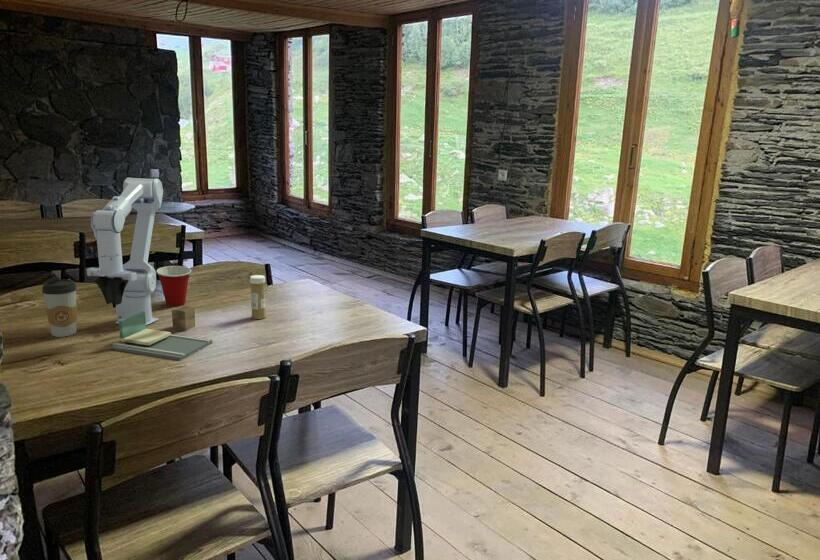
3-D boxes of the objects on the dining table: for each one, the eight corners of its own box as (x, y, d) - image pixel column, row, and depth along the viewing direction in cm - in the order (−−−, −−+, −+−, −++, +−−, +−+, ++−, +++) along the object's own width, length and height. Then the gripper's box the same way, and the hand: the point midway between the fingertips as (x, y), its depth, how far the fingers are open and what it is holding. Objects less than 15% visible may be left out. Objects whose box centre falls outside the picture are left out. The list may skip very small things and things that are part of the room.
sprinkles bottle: (268, 318, 191) (267, 277, 188) (254, 320, 189) (252, 278, 186) (262, 314, 195) (262, 273, 192) (249, 316, 193) (247, 275, 189)
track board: (109, 349, 161) (109, 344, 161) (145, 332, 174) (145, 328, 174) (180, 360, 156) (180, 356, 155) (212, 342, 169) (212, 338, 168)
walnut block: (172, 329, 179) (171, 309, 177) (182, 324, 183) (181, 305, 181) (186, 331, 177) (184, 311, 176) (195, 326, 182) (194, 307, 180)
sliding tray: (120, 343, 163) (118, 320, 162) (143, 332, 172) (142, 311, 170) (149, 347, 161) (147, 324, 159) (171, 336, 169) (169, 315, 168)
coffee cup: (46, 340, 166) (40, 287, 162) (48, 331, 173) (42, 280, 169) (80, 336, 170) (75, 284, 166) (81, 327, 177) (76, 277, 173)
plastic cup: (168, 311, 195) (165, 274, 192) (152, 303, 202) (150, 268, 199) (199, 304, 203) (197, 269, 200) (183, 297, 210) (181, 264, 207)
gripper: (76, 255, 161) (80, 304, 164) (121, 259, 157) (125, 310, 160) (96, 250, 168) (100, 298, 171) (140, 255, 164) (144, 303, 167)
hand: (114, 303), depth 166 cm, fingers closed
